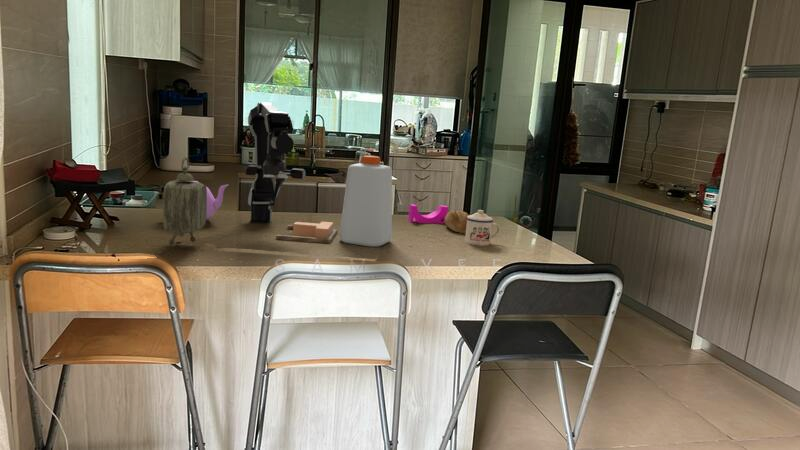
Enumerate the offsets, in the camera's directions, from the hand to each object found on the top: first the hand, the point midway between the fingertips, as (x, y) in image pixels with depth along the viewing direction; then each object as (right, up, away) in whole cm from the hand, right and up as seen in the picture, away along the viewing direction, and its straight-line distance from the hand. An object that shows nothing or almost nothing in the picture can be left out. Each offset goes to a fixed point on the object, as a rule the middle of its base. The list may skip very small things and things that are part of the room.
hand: (274, 198), depth 197 cm
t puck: (+12, -13, +2) cm, 17 cm away
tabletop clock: (-22, -14, -19) cm, 33 cm away
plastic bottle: (+30, -14, 0) cm, 33 cm away
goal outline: (+11, -12, +2) cm, 17 cm away
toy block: (+52, -9, +42) cm, 67 cm away
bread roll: (+63, -12, +30) cm, 71 cm away
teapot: (-31, -7, +14) cm, 34 cm away
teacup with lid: (+70, -16, +10) cm, 72 cm away
